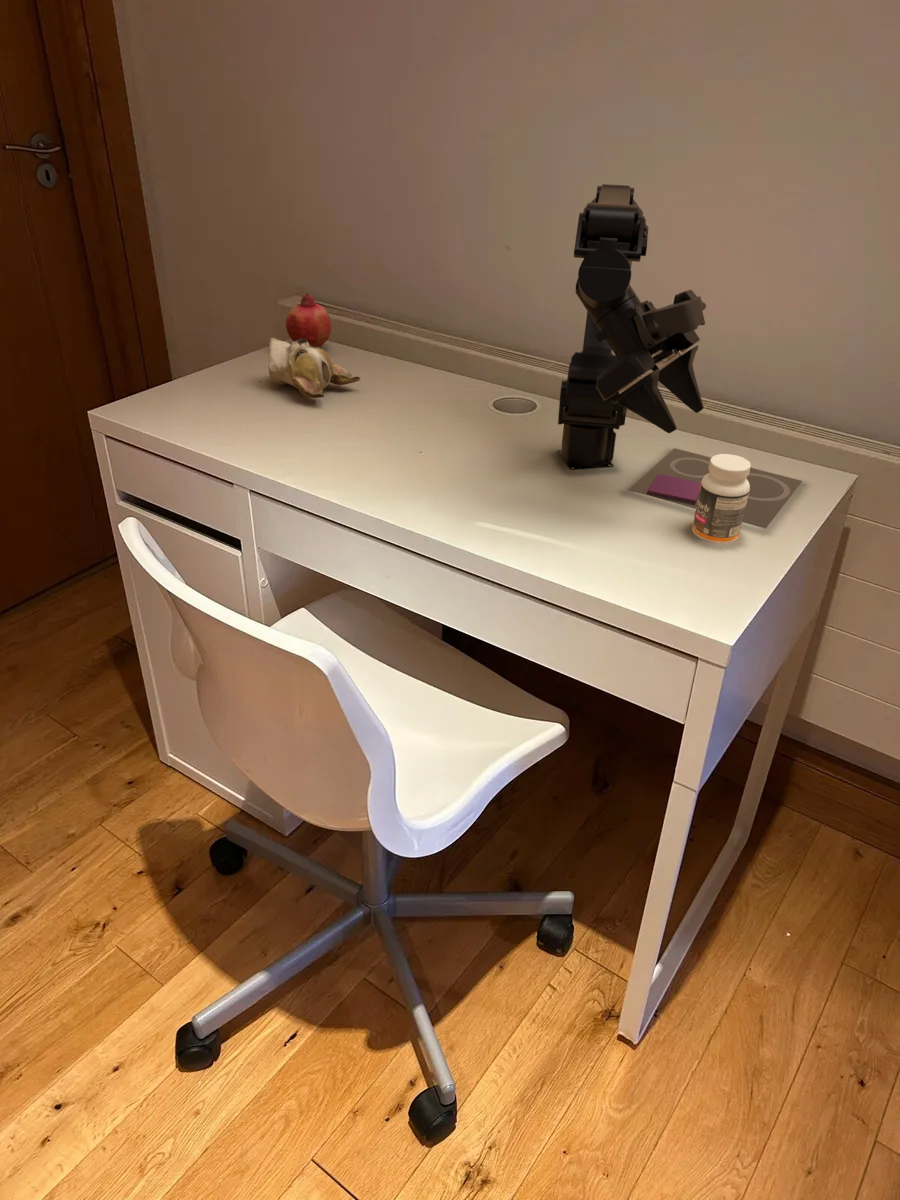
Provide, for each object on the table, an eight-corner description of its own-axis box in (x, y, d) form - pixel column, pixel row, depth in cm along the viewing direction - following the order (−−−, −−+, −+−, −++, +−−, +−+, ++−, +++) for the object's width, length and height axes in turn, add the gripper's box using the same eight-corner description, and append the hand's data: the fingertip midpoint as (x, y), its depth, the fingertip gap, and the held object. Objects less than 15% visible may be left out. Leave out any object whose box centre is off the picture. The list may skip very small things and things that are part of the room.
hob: (764, 532, 116) (765, 528, 116) (627, 493, 124) (627, 489, 124) (801, 484, 128) (802, 480, 127) (673, 451, 136) (674, 447, 136)
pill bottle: (685, 525, 117) (699, 451, 112) (729, 524, 118) (745, 451, 112) (699, 547, 112) (714, 472, 107) (745, 546, 113) (762, 471, 107)
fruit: (342, 349, 171) (339, 293, 165) (309, 359, 165) (306, 302, 160) (311, 339, 175) (308, 285, 169) (278, 349, 170) (274, 293, 164)
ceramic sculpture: (292, 320, 155) (363, 343, 149) (294, 369, 160) (362, 394, 154) (247, 336, 148) (319, 361, 141) (250, 388, 153) (320, 414, 146)
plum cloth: (695, 503, 121) (695, 500, 121) (646, 492, 123) (647, 490, 123) (704, 486, 125) (705, 483, 125) (657, 476, 127) (657, 473, 127)
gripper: (637, 281, 99) (716, 405, 100) (698, 257, 113) (767, 366, 114) (562, 341, 107) (636, 455, 107) (628, 311, 120) (693, 413, 121)
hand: (687, 420), depth 112 cm, fingers open, 9 cm apart
